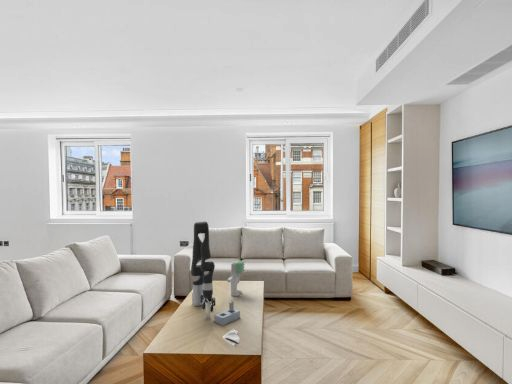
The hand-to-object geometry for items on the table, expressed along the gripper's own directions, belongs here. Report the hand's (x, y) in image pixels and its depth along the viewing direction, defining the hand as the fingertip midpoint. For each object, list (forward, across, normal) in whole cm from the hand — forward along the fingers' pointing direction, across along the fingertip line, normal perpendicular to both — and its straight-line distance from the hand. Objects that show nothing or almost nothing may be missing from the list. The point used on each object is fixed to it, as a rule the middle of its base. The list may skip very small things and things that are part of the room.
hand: (207, 310), depth 240 cm
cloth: (+8, +36, -10) cm, 38 cm away
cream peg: (+6, 0, 0) cm, 6 cm away
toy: (+6, -21, +55) cm, 59 cm away
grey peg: (+6, +13, +12) cm, 19 cm away
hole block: (+6, +13, +8) cm, 16 cm away
